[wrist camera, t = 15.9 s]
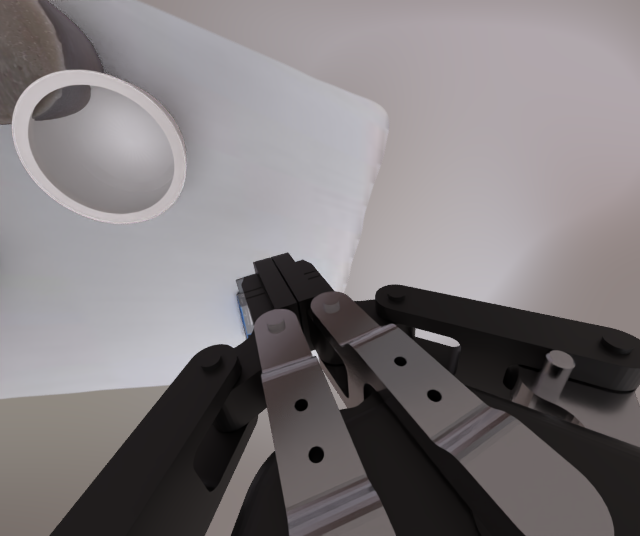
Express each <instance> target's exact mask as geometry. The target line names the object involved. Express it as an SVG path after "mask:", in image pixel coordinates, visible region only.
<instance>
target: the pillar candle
mask: <svg viewBox="0 0 640 536" xmlns="http://www.w3.org/2000/svg"><path fill="white" fill-rule="evenodd" d="M64 70H90V71H96V72H101V73H104V72H103V68H102V64H101V62H100V59H99V57H98V55H97V53H96V51H95V49H94V47H93V45H92V44H91V42H90V41H89V40H88V38H87V37H86V36H85V34H84V33H83V32H82V31H81V30H80V28H79V27H78V26H77V25H76V24H75V23H73V22H72V21H71V20H70V19H69V18H68V17H67V16H66V15H65V14H63V13H62V12H61V11H59V10H58V9H57V8H56V7H54V6H53V5H52V4H51V3H49V2H48V1H47V0H0V124H1V125H6V124H12V117H13V112H14V108H15V106H16V103H17V101H18V99H19V97H20V96H21V94H22V93H23V92H24V91H25V89H26V88H27V87H28V86H29V85H31V84H32V83H33V82H35V81H36V80H38V79H39V78H41V77H43V76H46V75H48V74H51V73H54V72H58V71H64ZM90 97H91V87H90V85H71V86H66V87H62V88H59V89H56V90H54V91H52V92H50V93H49V94H47V95H46V96H44V97H43V98H42V99H41V100H40V101H39V102H38V104H37V105H36V106H35V108H34V110H33V114H32V119H34V121H43V120H52V119H58V118H62V117H66V116H69V115H72V114H75V113H77V112H79V111H80V110H82V109H83V108H84V107H85V106H86V105H87V104H88V102H89V100H90Z"/></svg>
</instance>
